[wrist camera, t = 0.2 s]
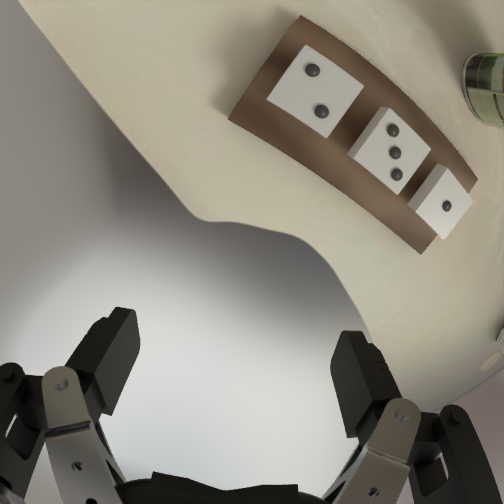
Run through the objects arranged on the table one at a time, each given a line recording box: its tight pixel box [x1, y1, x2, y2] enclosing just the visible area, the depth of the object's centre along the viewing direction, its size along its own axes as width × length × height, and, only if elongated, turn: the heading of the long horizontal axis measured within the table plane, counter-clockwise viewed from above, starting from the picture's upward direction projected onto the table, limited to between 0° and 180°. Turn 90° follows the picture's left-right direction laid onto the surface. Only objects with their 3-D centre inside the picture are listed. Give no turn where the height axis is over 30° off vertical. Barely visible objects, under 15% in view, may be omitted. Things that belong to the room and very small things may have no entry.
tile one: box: [407, 163, 473, 240], centre depth 25 cm, size 6×6×2 cm
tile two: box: [266, 45, 364, 138], centre depth 21 cm, size 6×6×2 cm
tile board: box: [228, 15, 478, 255], centre depth 26 cm, size 13×28×2 cm, turn 58°
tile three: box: [347, 107, 431, 195], centre depth 23 cm, size 6×6×2 cm
